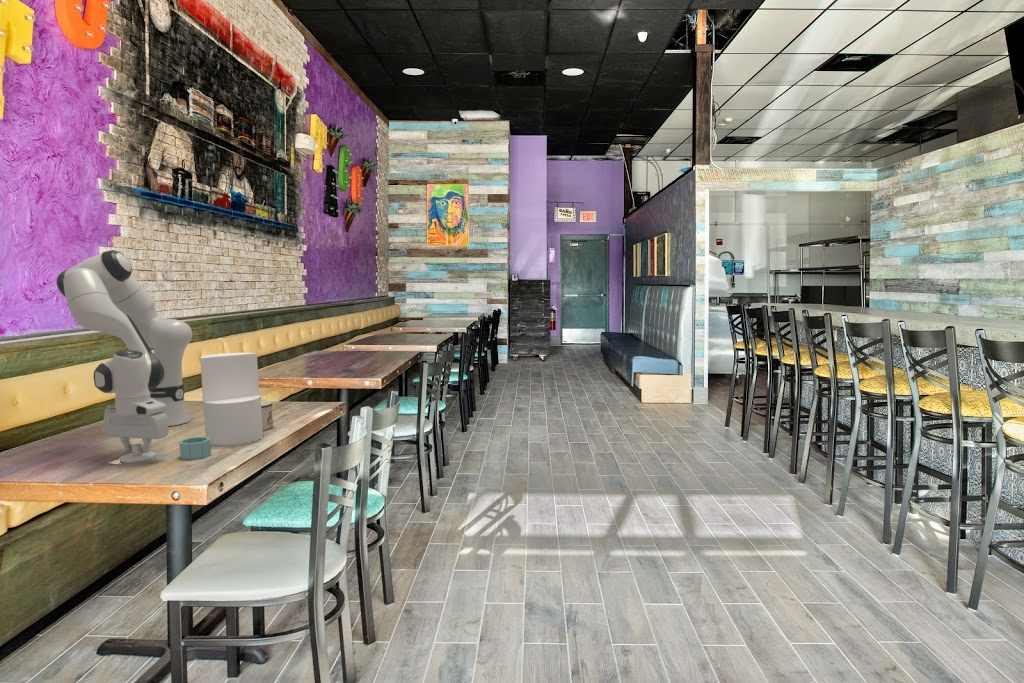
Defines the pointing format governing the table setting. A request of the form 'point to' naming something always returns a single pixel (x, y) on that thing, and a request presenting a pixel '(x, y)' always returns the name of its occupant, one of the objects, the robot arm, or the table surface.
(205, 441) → the cup
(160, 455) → the mat
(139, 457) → the lid
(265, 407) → the teacup with lid
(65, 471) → the table surface
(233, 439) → the cylinder
